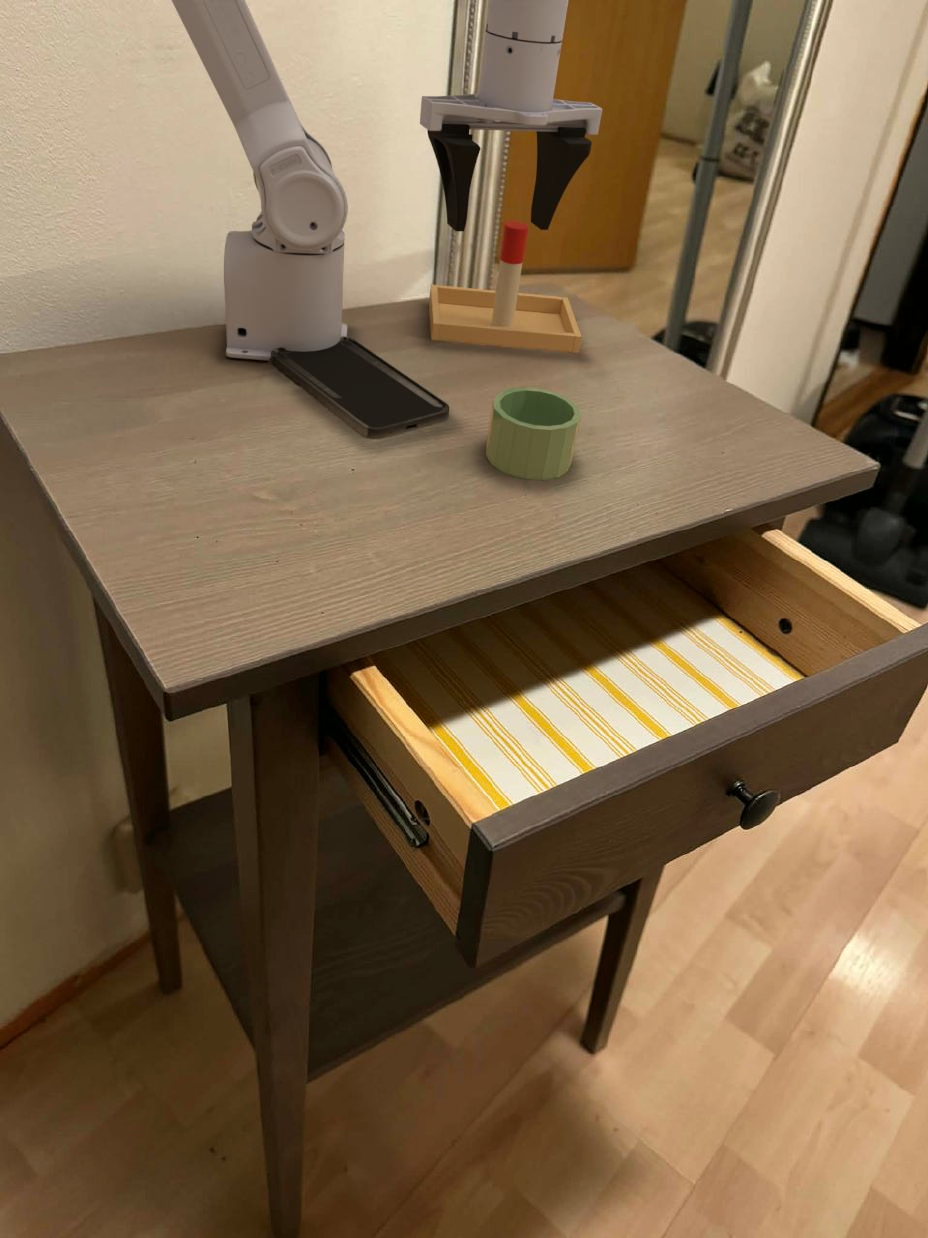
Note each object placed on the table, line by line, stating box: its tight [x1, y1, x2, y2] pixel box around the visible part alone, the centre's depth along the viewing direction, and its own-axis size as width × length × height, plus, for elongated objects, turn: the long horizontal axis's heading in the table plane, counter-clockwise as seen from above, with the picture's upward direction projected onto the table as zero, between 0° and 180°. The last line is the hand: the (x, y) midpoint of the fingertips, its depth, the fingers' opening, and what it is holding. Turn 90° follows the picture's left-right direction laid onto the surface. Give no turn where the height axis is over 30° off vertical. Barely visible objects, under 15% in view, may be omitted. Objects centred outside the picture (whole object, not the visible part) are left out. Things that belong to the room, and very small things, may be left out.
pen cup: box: [485, 386, 582, 481], centre depth 68 cm, size 6×6×4 cm
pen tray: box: [428, 284, 582, 354], centre depth 87 cm, size 13×9×2 cm
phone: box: [270, 336, 450, 440], centre depth 74 cm, size 8×1×15 cm
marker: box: [491, 220, 529, 328], centre depth 84 cm, size 2×2×9 cm
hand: (498, 226), depth 78 cm, fingers open, 7 cm apart
